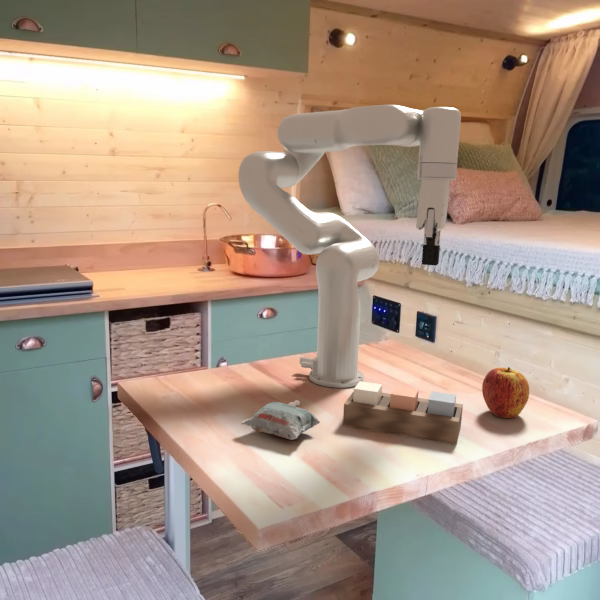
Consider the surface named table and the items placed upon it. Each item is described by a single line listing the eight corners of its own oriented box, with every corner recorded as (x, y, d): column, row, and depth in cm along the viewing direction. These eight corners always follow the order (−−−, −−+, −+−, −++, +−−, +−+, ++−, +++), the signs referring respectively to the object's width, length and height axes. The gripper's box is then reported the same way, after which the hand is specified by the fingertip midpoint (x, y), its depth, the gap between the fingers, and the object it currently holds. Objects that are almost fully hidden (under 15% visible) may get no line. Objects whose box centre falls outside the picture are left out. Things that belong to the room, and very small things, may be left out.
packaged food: (296, 450, 105) (298, 423, 104) (239, 432, 111) (240, 407, 110) (320, 433, 113) (321, 407, 112) (265, 417, 118) (266, 393, 117)
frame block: (342, 426, 116) (343, 404, 115) (354, 409, 125) (355, 388, 124) (456, 445, 110) (458, 421, 109) (460, 426, 118) (462, 404, 117)
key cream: (352, 413, 117) (354, 388, 116) (358, 405, 122) (359, 381, 121) (375, 417, 116) (377, 392, 115) (380, 408, 120) (382, 384, 119)
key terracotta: (388, 419, 115) (390, 393, 114) (393, 410, 119) (395, 386, 118) (413, 423, 114) (414, 397, 113) (416, 414, 118) (418, 389, 117)
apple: (470, 409, 127) (474, 362, 125) (504, 404, 130) (509, 358, 128) (500, 426, 119) (506, 377, 116) (536, 420, 122) (542, 372, 120)
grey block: (426, 425, 113) (428, 399, 112) (429, 416, 117) (431, 391, 116) (451, 429, 112) (453, 403, 111) (453, 419, 116) (456, 394, 115)
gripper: (423, 172, 130) (417, 258, 134) (411, 172, 116) (405, 268, 120) (459, 173, 127) (452, 261, 131) (452, 173, 113) (444, 271, 117)
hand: (430, 264), depth 125 cm, fingers closed
